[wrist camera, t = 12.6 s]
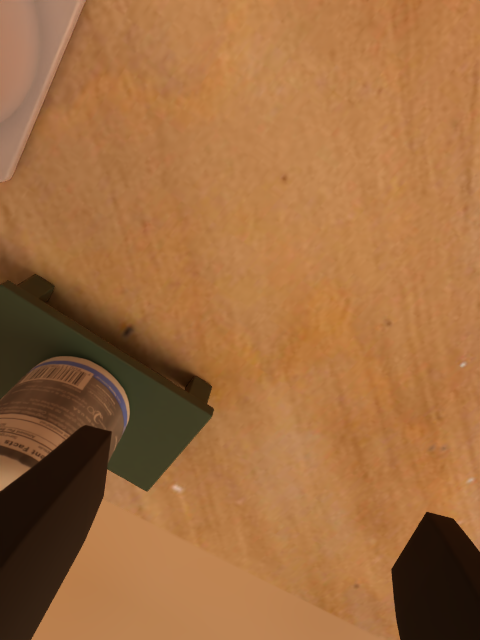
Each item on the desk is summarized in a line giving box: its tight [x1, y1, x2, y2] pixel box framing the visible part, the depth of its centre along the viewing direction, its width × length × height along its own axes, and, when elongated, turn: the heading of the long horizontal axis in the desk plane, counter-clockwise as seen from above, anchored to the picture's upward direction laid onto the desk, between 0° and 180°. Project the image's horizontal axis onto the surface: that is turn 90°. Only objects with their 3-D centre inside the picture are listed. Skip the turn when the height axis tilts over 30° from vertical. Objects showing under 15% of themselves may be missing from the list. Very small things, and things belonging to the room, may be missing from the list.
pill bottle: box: [0, 356, 130, 491], centre depth 15 cm, size 5×5×8 cm
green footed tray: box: [0, 274, 214, 491], centre depth 20 cm, size 10×6×2 cm, turn 55°
